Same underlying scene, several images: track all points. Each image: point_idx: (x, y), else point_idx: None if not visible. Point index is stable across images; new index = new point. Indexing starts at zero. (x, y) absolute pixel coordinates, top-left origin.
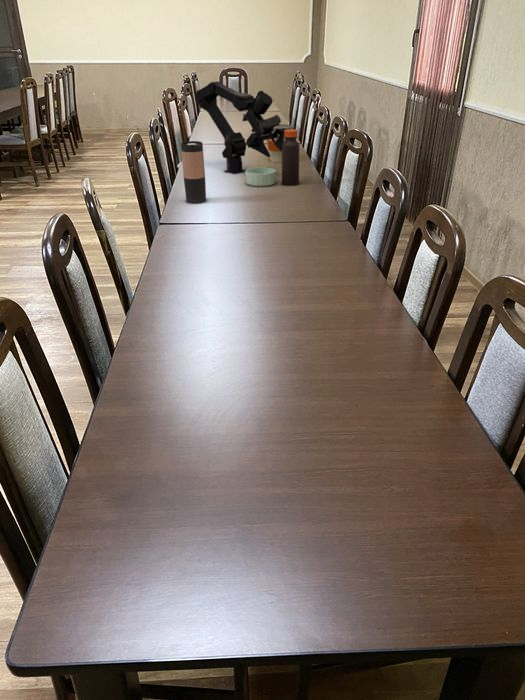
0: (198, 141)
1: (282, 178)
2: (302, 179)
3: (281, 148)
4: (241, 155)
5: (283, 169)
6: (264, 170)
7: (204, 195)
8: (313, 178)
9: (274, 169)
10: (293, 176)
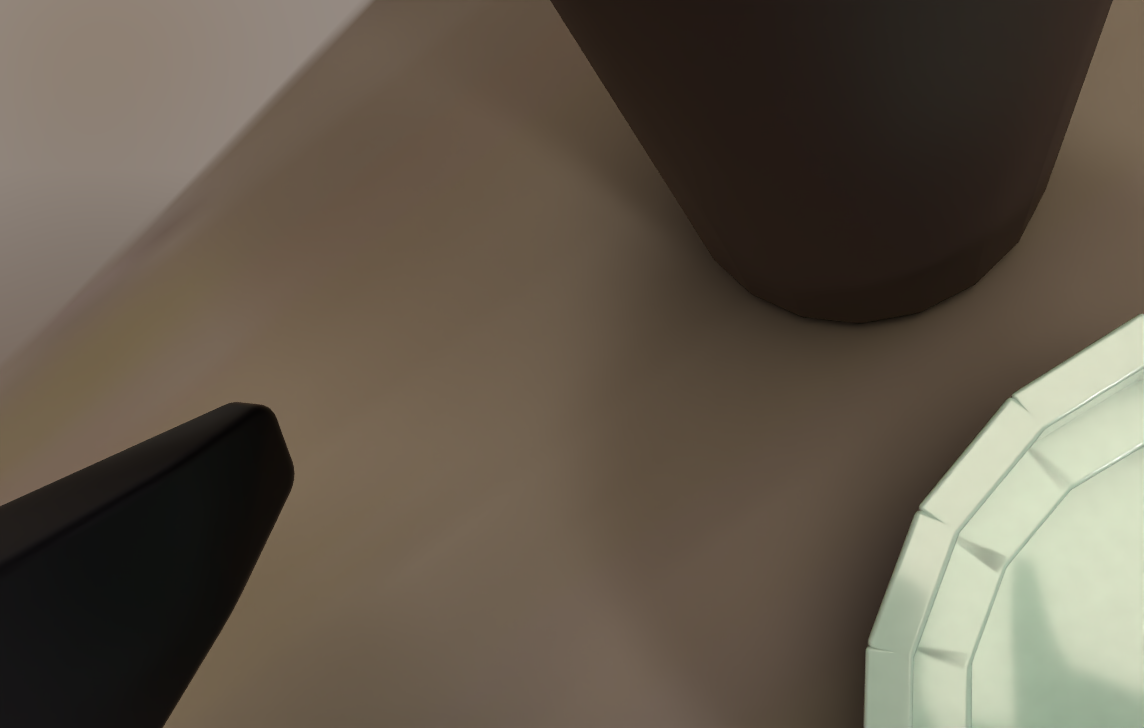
0: None
1: (1036, 194)
2: (455, 205)
3: (121, 650)
4: None
5: (1098, 35)
6: None
7: None
8: (314, 110)
9: (973, 489)
10: None
